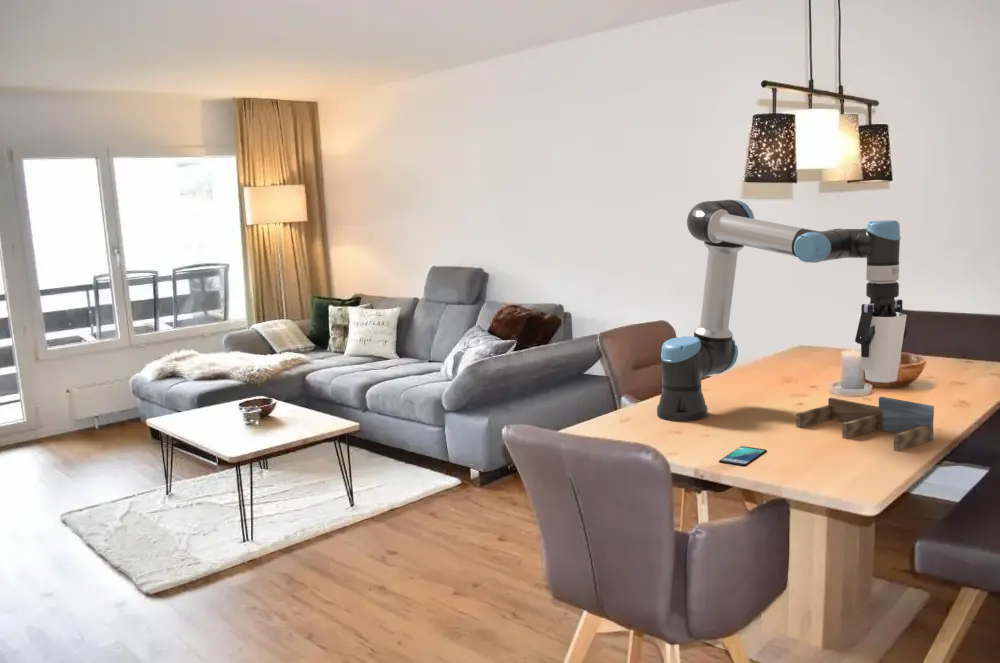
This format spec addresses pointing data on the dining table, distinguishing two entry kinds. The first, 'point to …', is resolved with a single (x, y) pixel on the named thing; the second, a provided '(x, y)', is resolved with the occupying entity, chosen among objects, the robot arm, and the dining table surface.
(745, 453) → the smartphone
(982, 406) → the dining table surface
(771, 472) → the dining table surface
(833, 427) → the dining table surface
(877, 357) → the cup
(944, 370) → the dining table surface
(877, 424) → the wooden divider rack
